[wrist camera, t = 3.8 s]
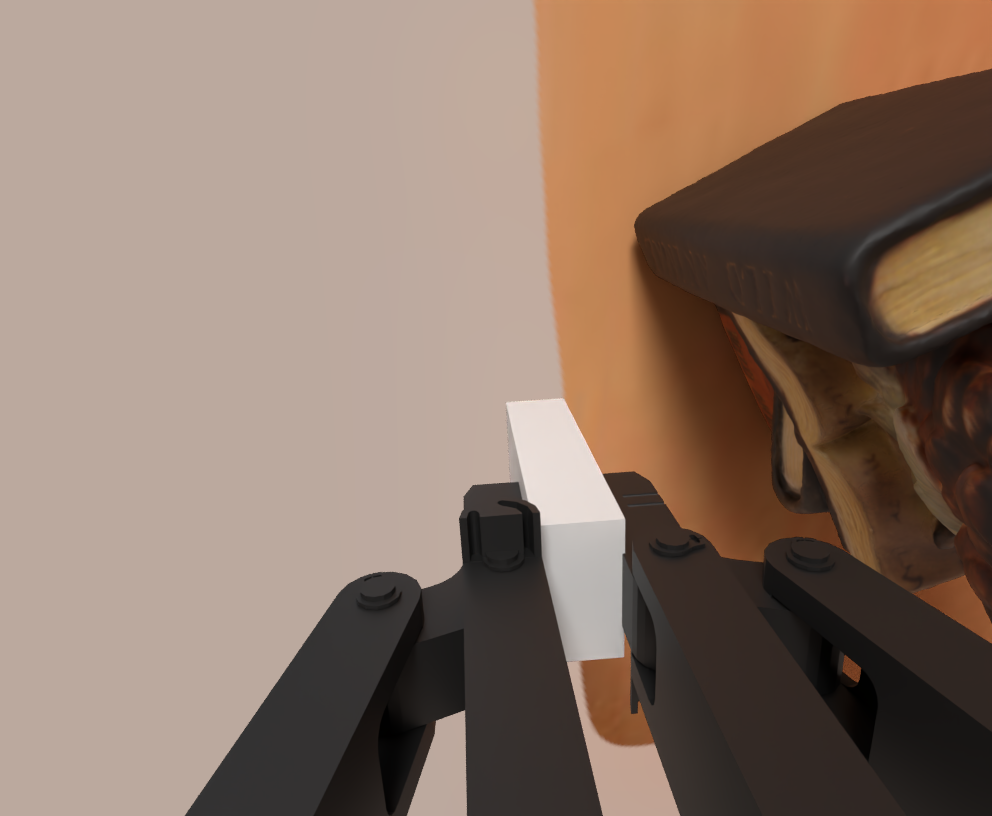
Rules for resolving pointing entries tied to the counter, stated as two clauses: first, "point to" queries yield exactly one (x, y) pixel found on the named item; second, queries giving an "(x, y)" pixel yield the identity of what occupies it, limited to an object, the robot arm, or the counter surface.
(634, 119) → the counter surface
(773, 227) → the bookend
